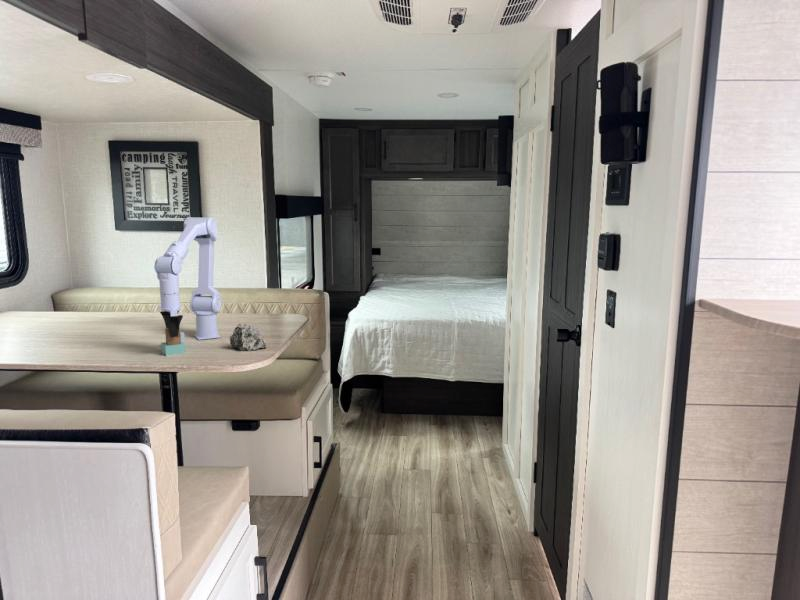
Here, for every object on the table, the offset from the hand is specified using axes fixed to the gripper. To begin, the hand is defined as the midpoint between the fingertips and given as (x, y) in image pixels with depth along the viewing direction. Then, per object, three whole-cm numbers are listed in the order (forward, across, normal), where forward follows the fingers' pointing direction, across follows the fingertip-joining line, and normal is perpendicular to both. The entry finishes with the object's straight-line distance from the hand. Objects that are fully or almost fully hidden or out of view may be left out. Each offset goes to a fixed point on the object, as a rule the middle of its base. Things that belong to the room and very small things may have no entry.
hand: (172, 334), depth 174 cm
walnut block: (+3, 0, 0) cm, 3 cm away
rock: (+7, +5, +24) cm, 25 cm away
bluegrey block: (+6, -8, +2) cm, 10 cm away
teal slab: (+6, 0, 0) cm, 7 cm away
